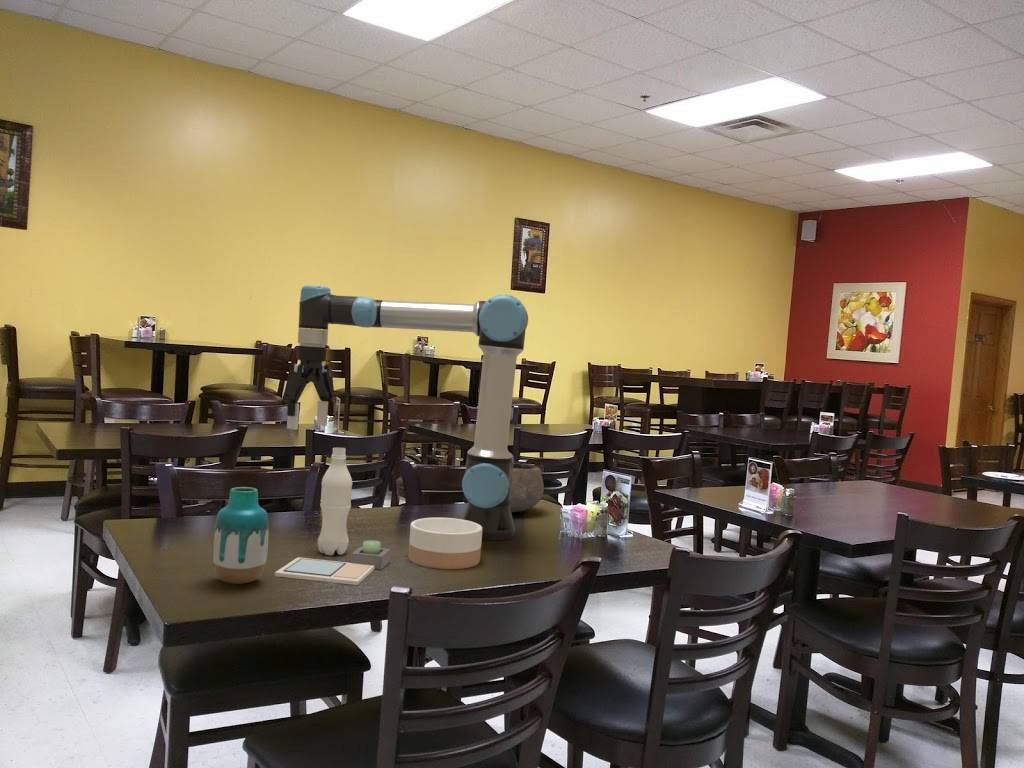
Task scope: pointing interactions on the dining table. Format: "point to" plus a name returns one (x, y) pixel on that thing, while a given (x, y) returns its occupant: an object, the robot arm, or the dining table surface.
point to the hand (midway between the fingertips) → (307, 427)
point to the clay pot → (525, 487)
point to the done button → (371, 547)
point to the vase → (240, 538)
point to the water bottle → (335, 505)
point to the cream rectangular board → (325, 571)
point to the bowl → (445, 543)
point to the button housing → (371, 558)
